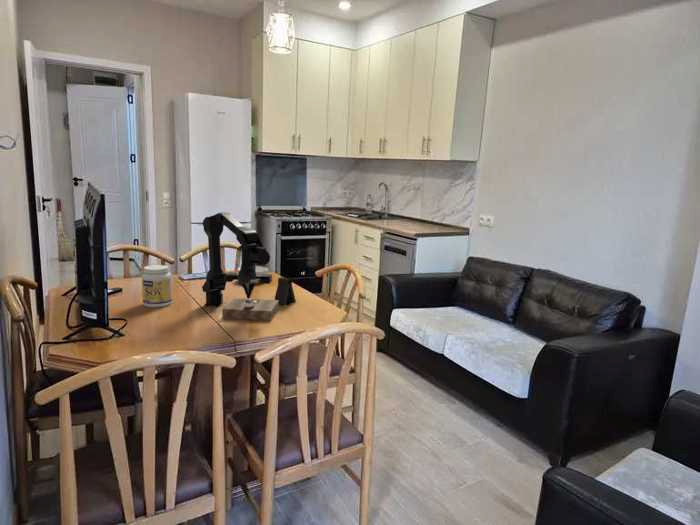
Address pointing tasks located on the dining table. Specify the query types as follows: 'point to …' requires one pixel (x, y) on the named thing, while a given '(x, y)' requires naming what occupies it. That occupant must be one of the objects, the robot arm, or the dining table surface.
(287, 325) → the dining table surface
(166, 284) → the supplement tub
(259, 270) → the cereal bowl
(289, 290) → the phone stand
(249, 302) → the black capped peg
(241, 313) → the walnut block
